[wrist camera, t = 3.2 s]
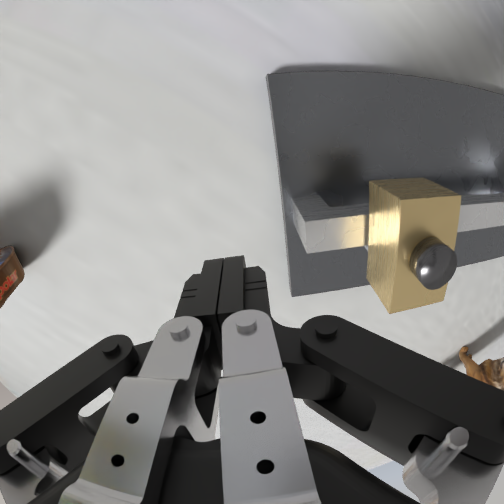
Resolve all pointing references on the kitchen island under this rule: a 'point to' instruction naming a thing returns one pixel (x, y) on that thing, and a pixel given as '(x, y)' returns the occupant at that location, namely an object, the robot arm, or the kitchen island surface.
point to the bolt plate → (380, 155)
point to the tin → (9, 273)
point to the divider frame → (357, 220)
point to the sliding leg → (411, 241)
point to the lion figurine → (484, 369)
